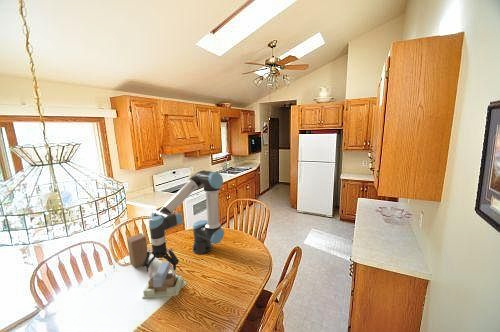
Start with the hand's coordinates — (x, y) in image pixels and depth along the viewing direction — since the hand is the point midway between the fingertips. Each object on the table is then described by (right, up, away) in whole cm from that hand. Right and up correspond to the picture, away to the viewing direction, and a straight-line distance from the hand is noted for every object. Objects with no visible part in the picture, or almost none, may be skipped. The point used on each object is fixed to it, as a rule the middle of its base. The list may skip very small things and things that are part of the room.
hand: (162, 275), depth 125 cm
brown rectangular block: (0, -8, +1) cm, 8 cm away
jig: (0, -9, +2) cm, 9 cm away
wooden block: (-29, -5, +28) cm, 41 cm away
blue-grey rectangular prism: (0, -1, 0) cm, 1 cm away
